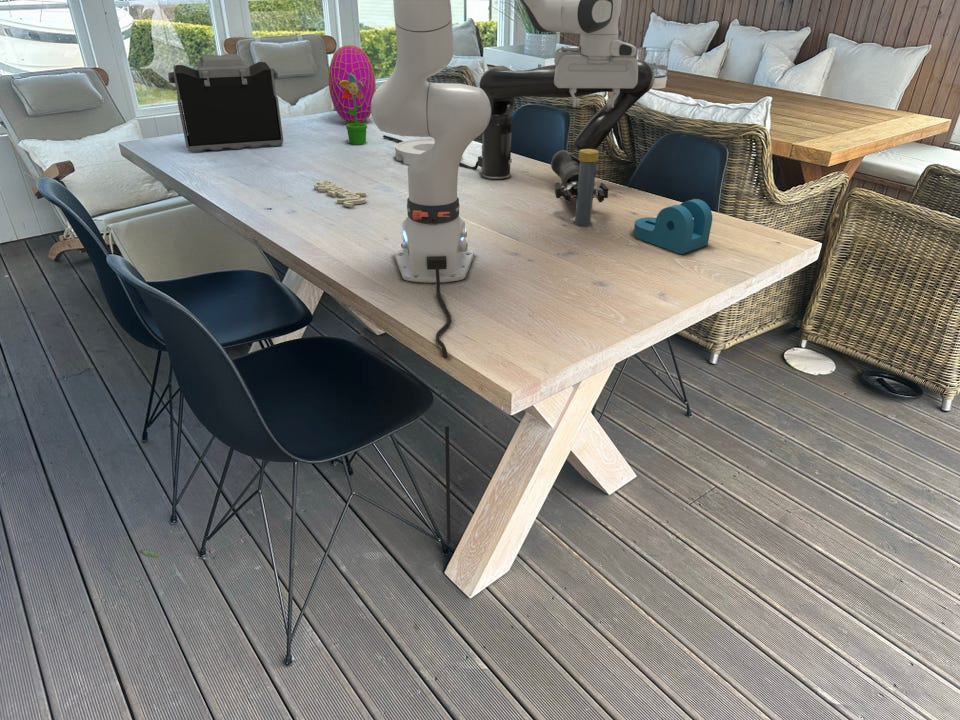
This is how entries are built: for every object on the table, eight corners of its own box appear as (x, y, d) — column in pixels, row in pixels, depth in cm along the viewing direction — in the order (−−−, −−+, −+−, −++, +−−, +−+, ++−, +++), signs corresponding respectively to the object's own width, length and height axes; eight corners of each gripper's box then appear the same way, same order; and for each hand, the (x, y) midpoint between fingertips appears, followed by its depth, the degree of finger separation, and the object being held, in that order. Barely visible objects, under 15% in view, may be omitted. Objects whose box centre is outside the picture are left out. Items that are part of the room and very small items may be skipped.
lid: (600, 162, 176) (601, 153, 175) (581, 162, 175) (582, 153, 174) (594, 157, 180) (595, 148, 179) (576, 157, 179) (576, 149, 178)
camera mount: (707, 244, 172) (715, 204, 167) (681, 254, 167) (689, 212, 161) (650, 225, 184) (656, 186, 179) (624, 233, 179) (629, 194, 173)
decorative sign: (378, 198, 199) (347, 205, 194) (378, 202, 199) (348, 208, 194) (336, 178, 217) (306, 183, 211) (336, 181, 217) (307, 186, 212)
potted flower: (342, 144, 260) (336, 73, 247) (351, 139, 266) (346, 70, 254) (365, 146, 257) (360, 74, 245) (374, 141, 264) (369, 71, 251)
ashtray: (454, 167, 232) (454, 155, 230) (388, 164, 235) (387, 152, 233) (466, 151, 252) (466, 140, 250) (404, 148, 255) (404, 137, 253)
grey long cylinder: (592, 225, 185) (599, 154, 175) (577, 226, 184) (583, 155, 174) (587, 220, 188) (594, 150, 179) (572, 220, 188) (578, 151, 178)
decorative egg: (362, 116, 305) (357, 42, 290) (386, 123, 292) (382, 46, 277) (324, 121, 294) (316, 45, 279) (347, 129, 281) (340, 49, 266)
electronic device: (280, 133, 274) (270, 51, 259) (288, 146, 256) (277, 59, 241) (182, 140, 262) (165, 54, 247) (183, 153, 245) (164, 62, 229)
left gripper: (556, 47, 161) (553, 109, 168) (643, 48, 162) (635, 109, 169) (553, 44, 166) (549, 104, 173) (637, 45, 167) (630, 105, 174)
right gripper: (552, 168, 195) (559, 184, 181) (602, 168, 195) (613, 184, 181) (550, 194, 199) (557, 212, 185) (599, 194, 199) (610, 212, 185)
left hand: (593, 107), depth 171 cm, fingers open, 7 cm apart
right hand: (585, 198), depth 183 cm, fingers open, 8 cm apart
